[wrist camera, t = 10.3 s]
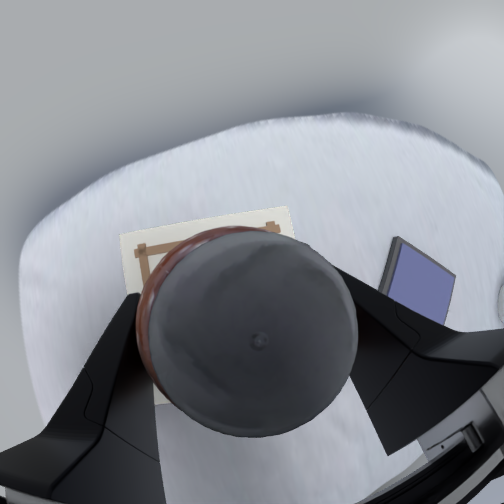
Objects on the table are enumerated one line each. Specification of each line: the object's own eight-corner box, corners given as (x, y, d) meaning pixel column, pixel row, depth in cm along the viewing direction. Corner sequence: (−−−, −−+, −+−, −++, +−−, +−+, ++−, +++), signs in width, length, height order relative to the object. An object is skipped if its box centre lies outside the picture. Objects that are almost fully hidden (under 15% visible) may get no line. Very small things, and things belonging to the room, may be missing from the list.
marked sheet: (319, 368, 20) (322, 370, 20) (154, 404, 18) (153, 406, 17) (286, 206, 22) (288, 204, 21) (119, 234, 19) (117, 233, 19)
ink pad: (428, 359, 22) (434, 361, 21) (363, 334, 21) (369, 335, 20) (451, 276, 24) (457, 275, 23) (393, 237, 23) (400, 235, 22)
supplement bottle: (246, 387, 15) (315, 505, 4) (154, 340, 15) (51, 394, 4) (292, 297, 16) (429, 269, 5) (202, 249, 16) (193, 133, 5)
